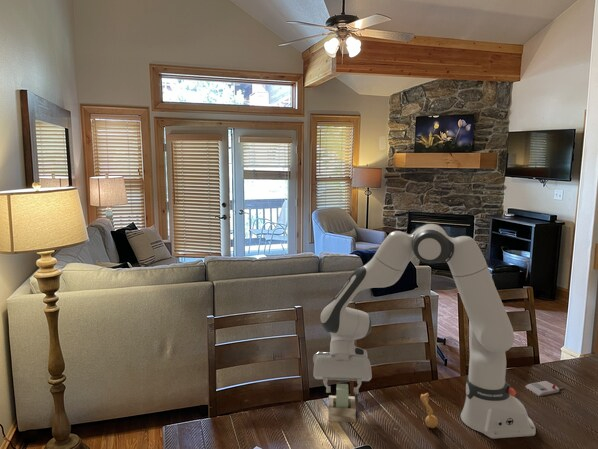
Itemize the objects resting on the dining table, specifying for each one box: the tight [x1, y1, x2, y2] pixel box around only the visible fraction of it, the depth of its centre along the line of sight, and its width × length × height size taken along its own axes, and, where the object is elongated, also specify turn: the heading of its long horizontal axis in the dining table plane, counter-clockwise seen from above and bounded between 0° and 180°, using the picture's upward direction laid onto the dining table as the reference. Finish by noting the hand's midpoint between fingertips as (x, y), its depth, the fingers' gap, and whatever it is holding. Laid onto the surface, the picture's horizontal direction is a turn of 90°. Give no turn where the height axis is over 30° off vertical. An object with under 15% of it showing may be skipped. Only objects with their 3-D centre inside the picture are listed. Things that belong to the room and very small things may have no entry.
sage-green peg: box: [335, 383, 349, 408], centre depth 150 cm, size 4×4×10 cm
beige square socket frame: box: [327, 394, 357, 423], centre depth 150 cm, size 9×9×4 cm
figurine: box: [419, 392, 439, 429], centre depth 142 cm, size 8×6×12 cm
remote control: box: [524, 380, 565, 397], centre depth 167 cm, size 7×16×3 cm, turn 108°
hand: (342, 392), depth 149 cm, fingers open, 8 cm apart
